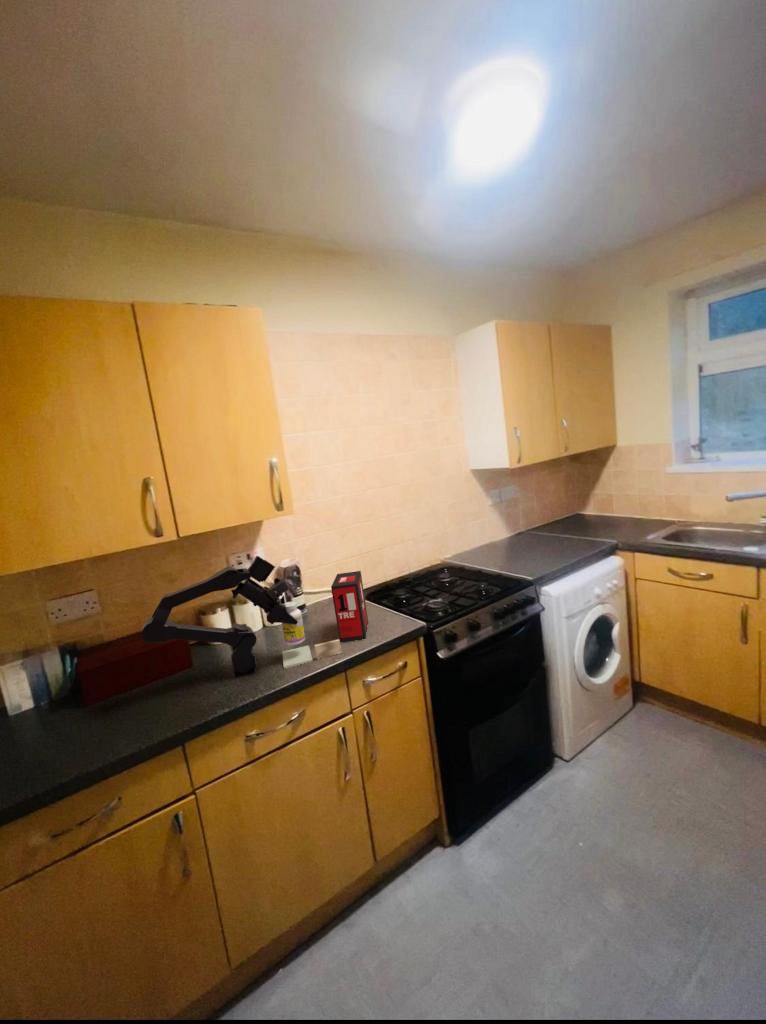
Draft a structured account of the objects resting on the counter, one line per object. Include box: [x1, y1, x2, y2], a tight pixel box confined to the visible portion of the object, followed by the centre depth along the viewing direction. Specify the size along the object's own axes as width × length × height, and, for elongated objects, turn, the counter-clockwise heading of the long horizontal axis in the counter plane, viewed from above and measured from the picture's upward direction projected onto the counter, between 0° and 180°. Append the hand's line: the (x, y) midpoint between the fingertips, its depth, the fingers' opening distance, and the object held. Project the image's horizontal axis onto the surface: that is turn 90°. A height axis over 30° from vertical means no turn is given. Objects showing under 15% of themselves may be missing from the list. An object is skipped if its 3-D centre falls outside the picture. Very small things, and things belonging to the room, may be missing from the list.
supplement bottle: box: [281, 601, 306, 646], centre depth 143 cm, size 7×7×13 cm
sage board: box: [281, 645, 314, 670], centre depth 144 cm, size 9×12×1 cm
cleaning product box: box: [330, 570, 369, 643], centre depth 158 cm, size 16×9×20 cm, turn 179°
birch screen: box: [314, 638, 342, 660], centre depth 142 cm, size 8×1×4 cm, turn 105°
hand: (296, 619), depth 144 cm, fingers closed on supplement bottle, 7 cm apart
